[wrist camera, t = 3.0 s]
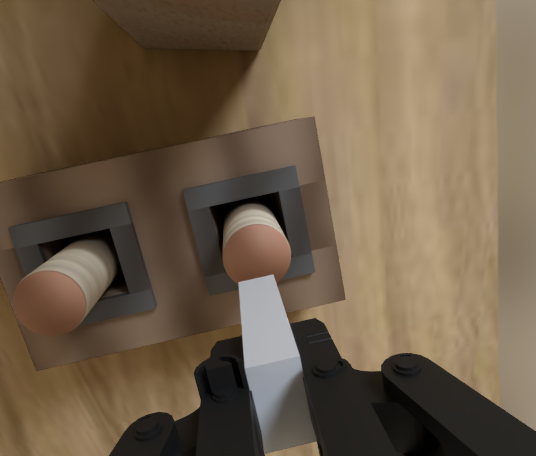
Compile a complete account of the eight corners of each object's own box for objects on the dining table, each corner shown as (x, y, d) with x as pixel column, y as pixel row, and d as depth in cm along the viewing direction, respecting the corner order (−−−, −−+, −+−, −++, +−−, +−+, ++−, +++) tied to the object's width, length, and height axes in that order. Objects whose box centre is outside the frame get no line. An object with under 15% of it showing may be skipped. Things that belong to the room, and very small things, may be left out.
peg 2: (232, 192, 32) (234, 215, 23) (282, 208, 32) (301, 235, 24) (217, 241, 32) (213, 280, 24) (266, 255, 33) (278, 298, 25)
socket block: (74, 323, 39) (32, 375, 31) (22, 176, 36) (-39, 191, 27) (322, 266, 40) (347, 302, 32) (296, 119, 37) (316, 116, 29)
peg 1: (74, 227, 31) (19, 262, 23) (128, 242, 32) (93, 281, 24) (62, 275, 32) (5, 326, 24) (115, 289, 33) (77, 344, 24)
